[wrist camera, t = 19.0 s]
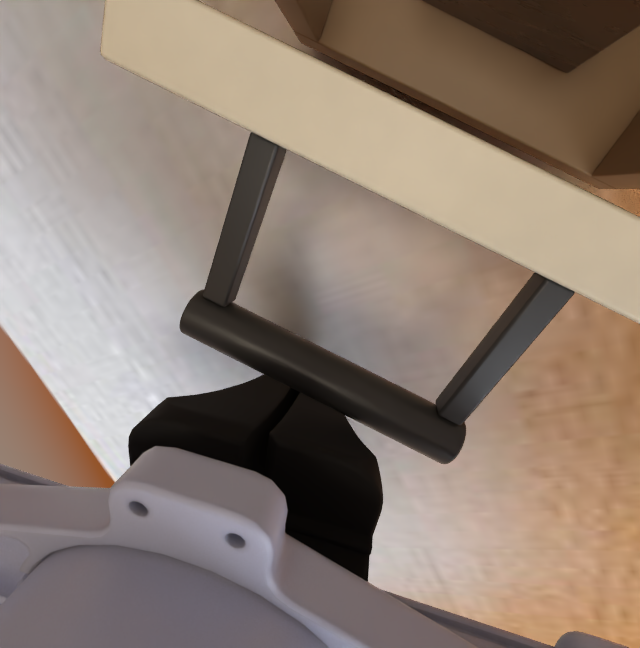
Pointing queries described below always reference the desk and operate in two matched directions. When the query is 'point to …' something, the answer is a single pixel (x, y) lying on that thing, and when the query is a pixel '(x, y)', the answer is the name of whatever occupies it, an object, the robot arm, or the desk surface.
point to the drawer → (406, 171)
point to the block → (550, 25)
